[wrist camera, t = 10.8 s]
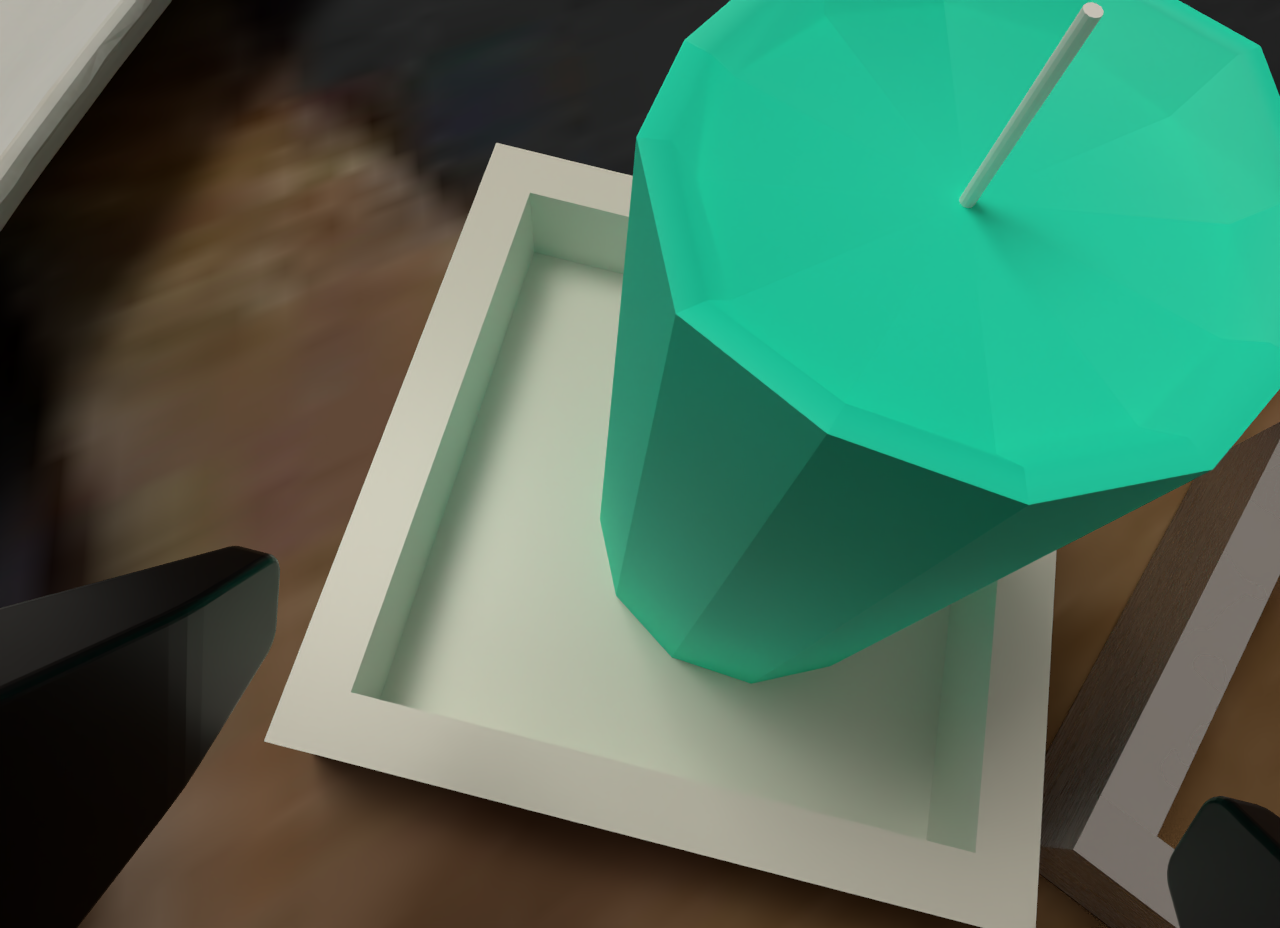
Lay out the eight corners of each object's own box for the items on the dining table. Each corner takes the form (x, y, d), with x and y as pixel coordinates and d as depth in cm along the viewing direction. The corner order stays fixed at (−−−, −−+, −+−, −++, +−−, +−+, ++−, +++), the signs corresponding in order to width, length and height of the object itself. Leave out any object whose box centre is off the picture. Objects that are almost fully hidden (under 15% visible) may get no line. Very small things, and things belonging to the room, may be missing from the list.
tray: (964, 919, 15) (1034, 940, 13) (310, 750, 15) (263, 741, 13) (1012, 344, 20) (1071, 283, 17) (505, 220, 20) (496, 142, 17)
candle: (800, 350, 18) (1144, -327, 7) (957, 596, 17) (1722, 194, 6) (548, 463, 17) (503, -161, 6) (691, 742, 15) (1003, 597, 4)
